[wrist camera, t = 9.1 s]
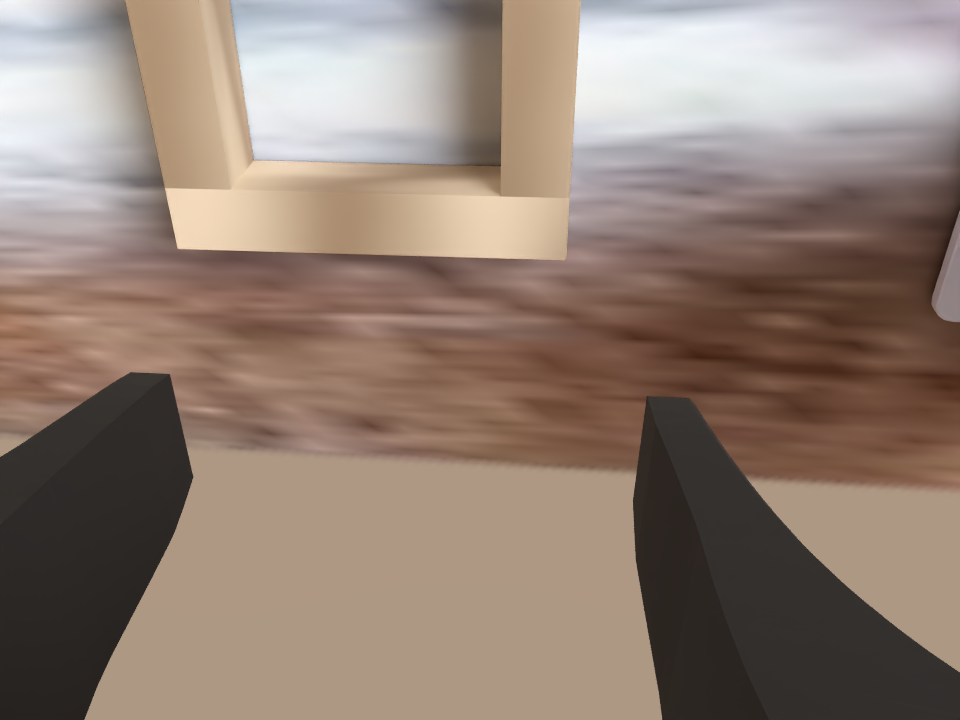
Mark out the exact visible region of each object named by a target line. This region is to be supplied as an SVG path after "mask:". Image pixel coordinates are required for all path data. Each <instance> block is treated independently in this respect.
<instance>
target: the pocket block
mask: <svg viewBox="0 0 960 720" xmlns="http://www.w3.org/2000/svg"><path fill="white" fill-rule="evenodd" d="M125 2H126V7H127V11H128V16H129V21H130V26H131V30H132V35H133V40H134V44H135V49H136V54H137V59H138V63H139V68H140V73H141V77H142V82H143V87H144V92H145V96H146V101H147V106H148V111H149V115H150V120H151V125H152V129H153V134H154V139H155V144H156V148H157V153H158V158H159V162H160V167H161V172H162V177H163V181H164V186H165V191H166V196H167V200H168V205H169V210H170V214H171V219H172V224H173V229H174V233H175V238H176V243H177V248H178V249H198V250H232V251H267V252H301V253H336V254H370V255H405V256H439V257H473V258H508V259H542V260H566V253H567V236H568V218H569V200H570V182H571V165H572V147H573V129H574V111H575V94H576V76H577V58H578V40H579V22H580V5H581V0H503V10H502V107H501V166H472V165H428V164H384V163H340V162H296V161H254V159H253V152H252V145H251V139H250V132H249V125H248V119H247V112H246V105H245V99H244V92H243V85H242V79H241V72H240V65H239V59H238V52H237V45H236V39H235V32H234V25H233V19H232V12H231V6H230V0H125Z"/></svg>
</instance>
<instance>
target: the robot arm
mask: <svg viewBox="0 0 960 720" xmlns="http://www.w3.org/2000/svg"><path fill="white" fill-rule="evenodd" d="M932 306H933V308H934V310H935V312H936V313H937V315H938V316H939V317H941V318H942V319H943V320H946V321H951V322H960V211H959V214H958V217H957V221H956V224H955V227H954V230H953V233H952V236H951V239H950V242H949V246H948V249H947V252H946V255H945V258H944V261H943V264H942V268H941V271H940V274H939V277H938V280H937V283H936V286H935V290H934V293H933V296H932ZM192 479H193V474H192V470H191V465H190V461H189V456H188V452H187V448H186V443H185V439H184V435H183V430H182V426H181V421H180V417H179V413H178V408H177V404H176V400H175V395H174V391H173V386H172V382H171V378H170V374H155V373H133V372H131V373H129V374H127V375H126V376H124V377H122V378H120V379H119V380H117V381H115V382H114V383H112V384H111V385H109V386H108V387H106V388H104V389H103V390H101V391H100V392H98V393H97V394H95V395H94V396H92V397H91V398H89V399H88V400H86V401H85V402H83V403H82V404H80V405H79V406H78V407H76V408H75V409H73V410H72V411H70V412H69V413H67V414H66V415H64V416H63V417H61V418H60V419H58V420H57V421H55V422H54V423H52V424H51V425H49V426H48V427H46V428H45V429H43V430H42V431H40V432H39V433H37V434H36V435H34V436H33V437H31V438H30V439H28V440H27V441H25V442H24V443H22V444H21V445H19V446H18V447H16V448H14V449H13V450H11V451H9V452H8V453H6V454H5V455H3V456H1V457H0V720H84V719H85V716H86V714H87V711H88V709H89V706H90V704H91V701H92V698H93V696H94V693H95V691H96V688H97V686H98V683H99V681H100V679H101V677H102V675H103V672H104V670H105V668H106V666H107V664H108V662H109V660H110V658H111V655H112V654H113V652H114V650H115V648H116V646H117V644H118V642H119V640H120V638H121V636H122V634H123V632H124V630H125V629H126V627H127V625H128V623H129V621H130V619H131V617H132V615H133V613H134V611H135V609H136V607H137V605H138V604H139V602H140V600H141V598H142V596H143V594H144V592H145V590H146V588H147V586H148V584H149V582H150V580H151V578H152V577H153V575H154V572H155V571H156V569H157V567H158V565H159V563H160V561H161V559H162V557H163V555H164V553H165V551H166V549H167V547H168V545H169V543H170V541H171V539H172V537H173V534H174V532H175V529H176V527H177V524H178V521H179V518H180V515H181V513H182V510H183V507H184V504H185V501H186V498H187V495H188V492H189V489H190V485H191V483H192ZM633 511H634V532H635V551H636V563H637V569H638V576H639V581H640V586H641V592H642V599H643V605H644V611H645V616H646V622H647V628H648V633H649V639H650V644H651V650H652V656H653V661H654V667H655V673H656V678H657V684H658V690H659V696H660V704H661V712H662V720H960V672H958V671H957V670H955V669H954V668H952V667H951V666H949V665H948V664H947V663H945V662H944V661H942V660H940V659H939V658H937V657H936V656H935V655H933V654H932V653H930V652H929V651H928V650H926V649H925V648H923V647H922V646H921V645H919V644H918V643H917V642H915V641H914V640H912V639H911V638H910V637H909V636H907V635H906V634H904V633H903V632H902V631H901V630H899V629H898V628H897V627H895V626H894V625H893V624H892V623H890V622H889V621H888V620H886V619H885V618H884V617H883V616H882V615H881V614H879V613H878V612H877V611H875V610H874V609H873V608H872V607H870V606H869V605H868V604H867V603H866V602H864V601H863V600H862V599H861V598H860V597H858V596H857V595H856V594H855V593H854V592H853V591H851V590H850V589H849V588H848V587H847V586H846V585H845V584H843V583H842V582H841V581H840V580H839V579H838V578H837V577H836V576H835V575H834V574H833V573H832V572H831V571H830V570H829V569H827V568H826V567H825V566H824V565H823V564H822V563H821V562H820V561H819V560H818V559H817V558H816V557H815V556H814V555H813V554H812V553H811V552H810V551H809V550H808V549H807V548H806V547H805V546H804V545H803V544H802V543H801V542H800V541H799V540H798V539H797V538H796V536H795V535H794V534H793V533H792V532H791V531H790V530H789V529H788V528H787V526H786V525H785V524H784V523H783V522H782V521H781V520H780V519H779V518H778V517H777V515H776V514H775V513H774V512H773V511H772V509H771V508H770V507H769V506H768V505H767V503H766V502H765V501H764V500H763V499H762V497H761V496H760V495H759V494H758V492H757V491H756V490H755V488H754V487H753V486H752V485H751V483H750V482H749V481H748V480H747V478H746V477H745V476H744V474H743V473H742V472H741V471H740V469H739V468H738V467H737V465H736V464H735V463H734V461H733V460H732V459H731V457H730V456H729V454H728V453H727V452H726V450H725V449H724V447H723V446H722V445H721V443H720V442H719V440H718V439H717V437H716V436H715V434H714V433H713V432H712V430H711V429H710V427H709V426H708V424H707V423H706V421H705V419H704V418H703V416H702V415H701V413H700V412H699V410H698V409H697V407H696V406H695V404H694V403H693V402H692V401H691V400H690V399H689V398H673V397H651V396H647V400H646V408H645V415H644V423H643V430H642V438H641V445H640V453H639V460H638V467H637V475H636V482H635V490H634V497H633Z"/></svg>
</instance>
